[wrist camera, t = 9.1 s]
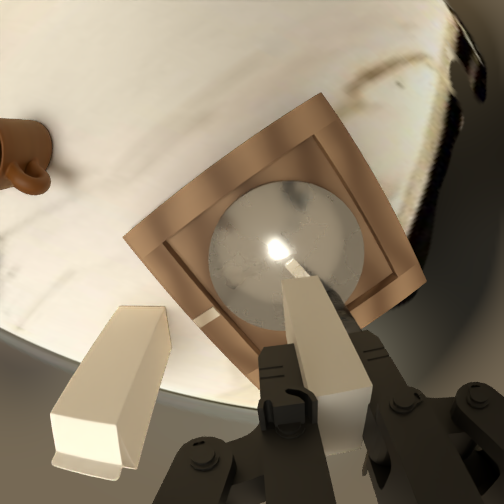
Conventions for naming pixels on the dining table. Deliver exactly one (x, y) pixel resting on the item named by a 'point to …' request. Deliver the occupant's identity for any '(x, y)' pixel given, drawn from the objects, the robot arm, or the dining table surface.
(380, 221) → the board
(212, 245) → the dial
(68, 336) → the dining table surface
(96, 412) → the milk
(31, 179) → the mug
